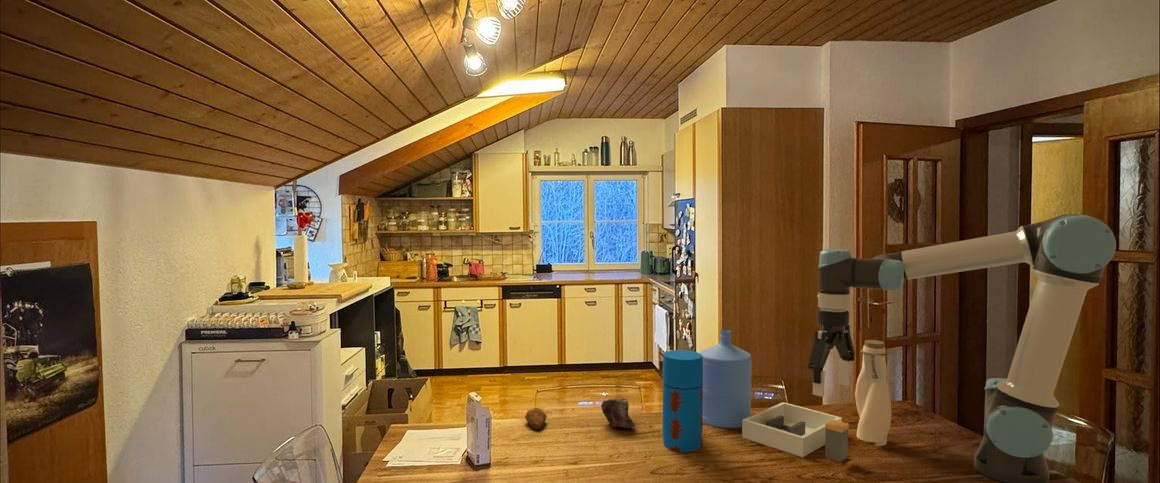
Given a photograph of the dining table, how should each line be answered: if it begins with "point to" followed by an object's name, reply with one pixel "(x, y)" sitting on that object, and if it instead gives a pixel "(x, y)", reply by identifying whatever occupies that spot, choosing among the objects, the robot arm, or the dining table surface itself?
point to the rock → (617, 412)
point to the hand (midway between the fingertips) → (831, 389)
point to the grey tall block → (836, 440)
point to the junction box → (782, 439)
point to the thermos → (682, 400)
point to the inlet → (779, 424)
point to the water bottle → (873, 395)
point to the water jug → (726, 384)
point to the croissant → (536, 418)
